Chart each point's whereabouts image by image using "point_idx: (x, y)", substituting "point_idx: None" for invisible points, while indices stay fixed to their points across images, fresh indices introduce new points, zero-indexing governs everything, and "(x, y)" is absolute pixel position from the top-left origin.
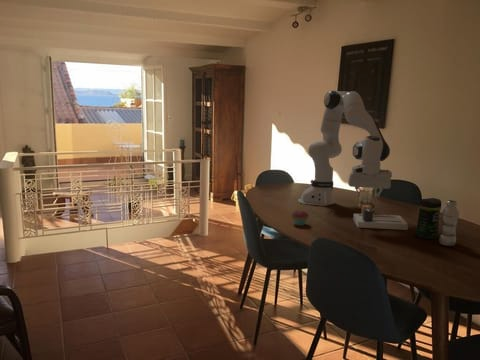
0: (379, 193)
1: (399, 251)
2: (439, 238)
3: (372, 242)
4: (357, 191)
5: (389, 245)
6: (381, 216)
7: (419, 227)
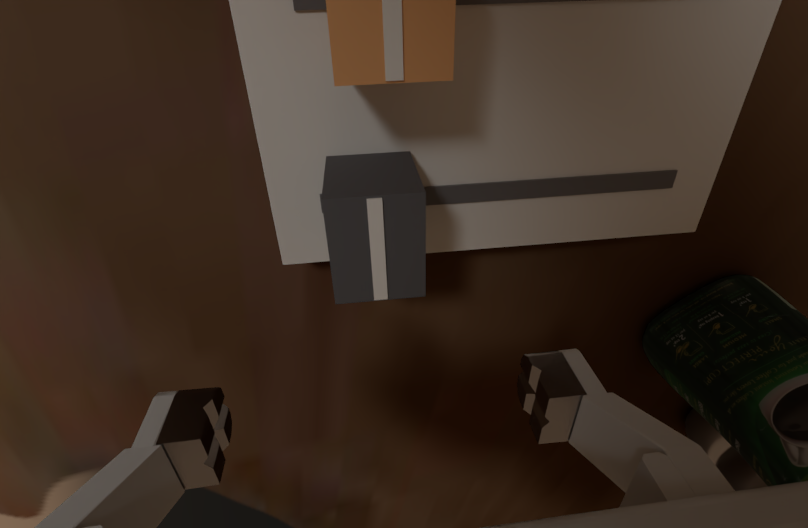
0: (583, 441)
1: (461, 507)
2: (699, 437)
3: (365, 458)
4: (146, 515)
5: (439, 468)
6: (563, 1)
7: (681, 391)
